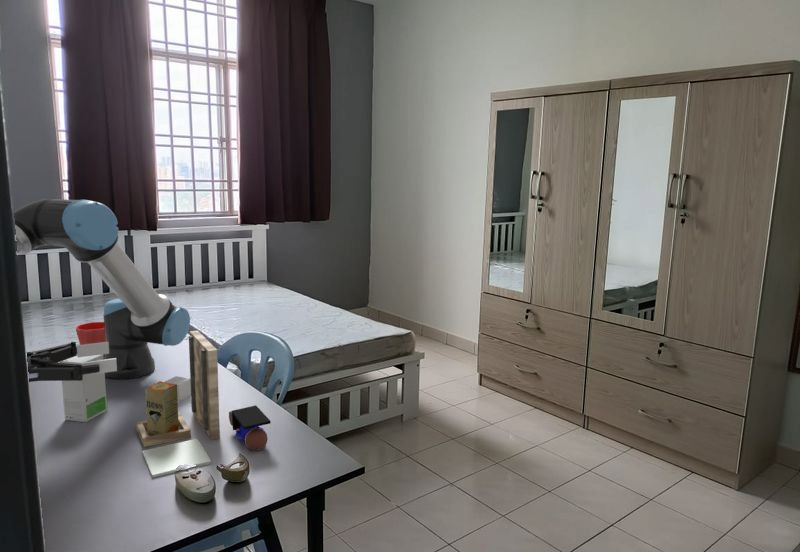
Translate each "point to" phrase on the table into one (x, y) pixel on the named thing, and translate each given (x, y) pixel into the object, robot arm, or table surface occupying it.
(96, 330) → the flower pot
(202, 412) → the board
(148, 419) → the shoe polish box
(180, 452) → the sage mat
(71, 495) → the table surface
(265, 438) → the figurine character
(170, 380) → the white cube
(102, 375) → the skincare box
